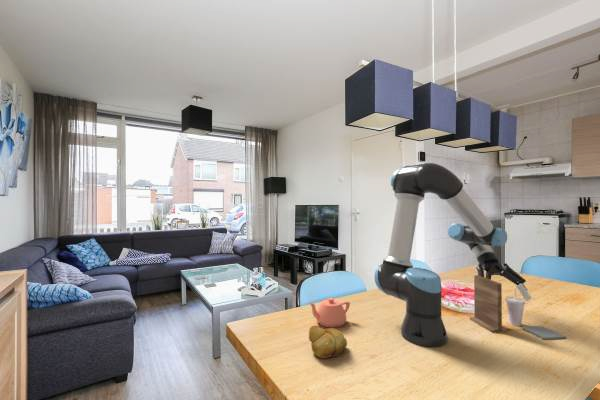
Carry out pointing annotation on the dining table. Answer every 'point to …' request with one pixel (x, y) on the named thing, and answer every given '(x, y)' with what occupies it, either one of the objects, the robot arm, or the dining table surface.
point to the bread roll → (326, 341)
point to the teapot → (330, 312)
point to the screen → (488, 304)
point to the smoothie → (515, 309)
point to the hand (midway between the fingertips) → (514, 300)
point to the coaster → (543, 332)
